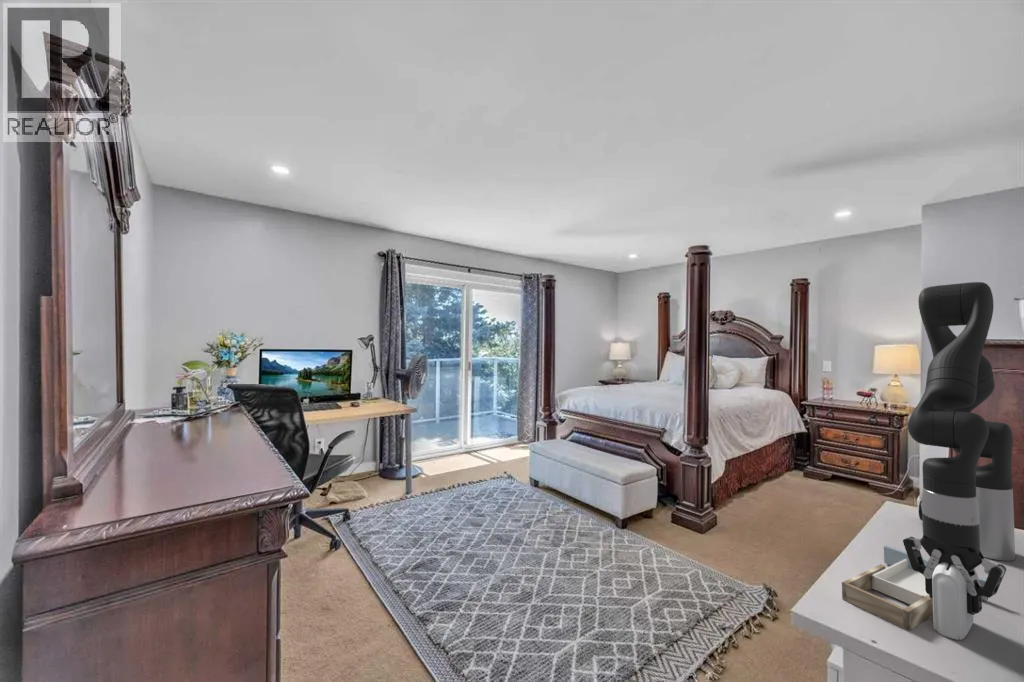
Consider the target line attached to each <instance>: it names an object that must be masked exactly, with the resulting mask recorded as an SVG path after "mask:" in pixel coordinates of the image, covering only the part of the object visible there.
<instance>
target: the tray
mask: <svg viewBox="0 0 1024 682" xmlns="http://www.w3.org/2000/svg"><path fill="white" fill-rule="evenodd" d="M922 558H923V561H924V564H925V566H926V565H927V563H928V561H929V559H928V558H925V557H922ZM883 560H884V561H883V562H884V564H886V565H889V566H887V567H885V569H883V570H881V571H879V572H877V573H875V574H873V575H871V577H872V589H873V590H875V591H877V592H880V593H883V594H884V595H887V596H889V597H892V598H894V599H896V600H899V601H901V602H903V603H906V604H907V605H909V606H910V605H912V604H913V603H915V602H917V601H919V600H920V599H922V598H924V597H926V596H927V595H929V594H927V593H926V590H925V588H926V587H925V577H924V575H923V574H921V573H920V572H918V571H914V570H913V569H912V567H911V564H910V561H909V558H908V555H907V552H906V550H901V549H899V548H896V547H892V546H891V545H888V544H886V545H884V546H883ZM986 580H987V578H984V577H980V576H978V581H979V583H980V585H981V586H983V587H984V584H985V582H986ZM988 600H989V598H988V597H985V596H982V601H986V602H987V601H988Z"/></svg>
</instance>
